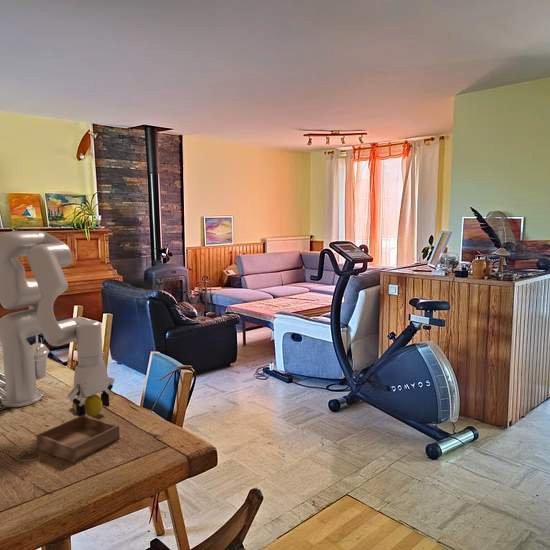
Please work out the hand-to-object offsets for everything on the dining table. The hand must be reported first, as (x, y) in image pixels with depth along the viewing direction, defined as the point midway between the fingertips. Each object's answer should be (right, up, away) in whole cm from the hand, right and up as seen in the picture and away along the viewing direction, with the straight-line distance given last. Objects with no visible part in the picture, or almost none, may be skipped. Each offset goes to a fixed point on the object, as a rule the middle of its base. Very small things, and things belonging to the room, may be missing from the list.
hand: (93, 410), depth 155 cm
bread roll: (-6, -2, +8) cm, 10 cm away
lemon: (0, -2, 0) cm, 2 cm away
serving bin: (+2, -5, -17) cm, 18 cm away
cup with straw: (-37, +3, +40) cm, 54 cm away
